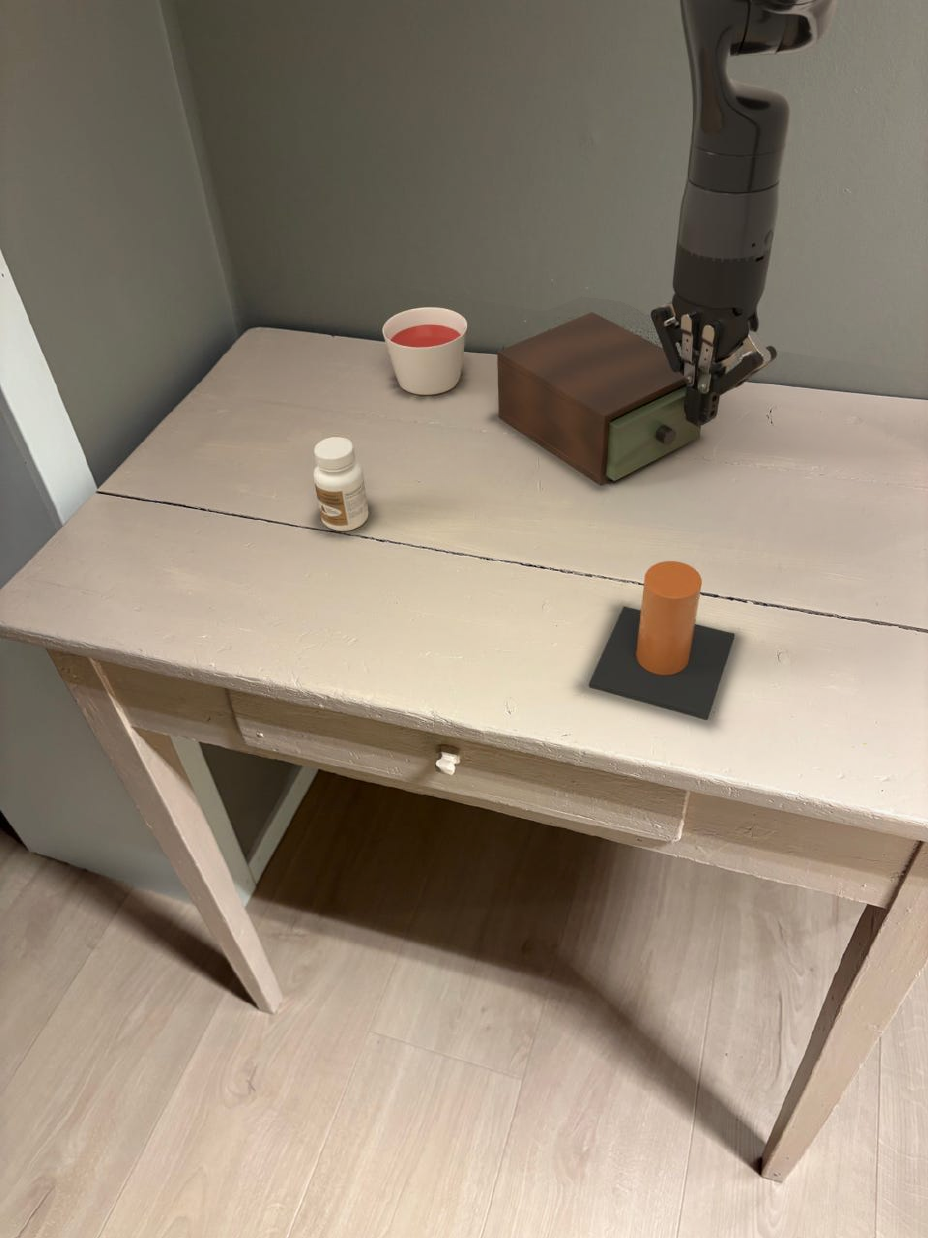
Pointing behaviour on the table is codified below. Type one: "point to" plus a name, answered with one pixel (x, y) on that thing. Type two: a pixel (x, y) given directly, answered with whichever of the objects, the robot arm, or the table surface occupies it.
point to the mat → (673, 692)
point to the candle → (426, 348)
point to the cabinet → (580, 387)
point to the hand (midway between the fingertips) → (699, 420)
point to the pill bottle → (339, 485)
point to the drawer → (648, 433)
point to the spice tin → (668, 617)
